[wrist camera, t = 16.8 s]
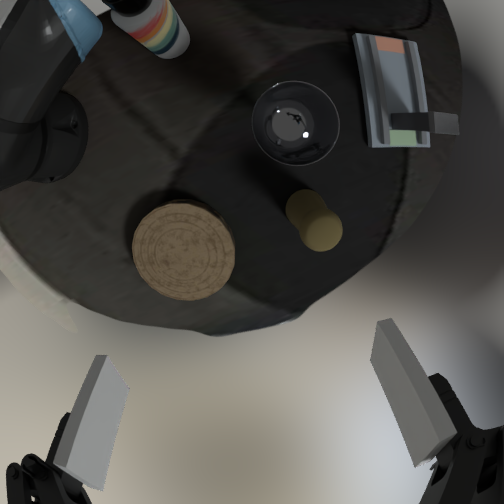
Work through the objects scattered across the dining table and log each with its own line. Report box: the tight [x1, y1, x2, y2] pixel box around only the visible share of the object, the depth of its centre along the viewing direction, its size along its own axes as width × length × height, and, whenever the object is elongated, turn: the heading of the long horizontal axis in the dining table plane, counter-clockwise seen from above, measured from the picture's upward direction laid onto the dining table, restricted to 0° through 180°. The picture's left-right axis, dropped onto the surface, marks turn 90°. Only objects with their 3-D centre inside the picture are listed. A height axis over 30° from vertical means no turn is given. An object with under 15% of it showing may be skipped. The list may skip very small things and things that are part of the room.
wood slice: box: [132, 199, 235, 300], centre depth 42 cm, size 16×16×3 cm
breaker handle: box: [391, 112, 459, 135], centre depth 29 cm, size 2×4×11 cm, turn 98°
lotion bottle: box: [102, 0, 190, 59], centre depth 21 cm, size 6×6×20 cm
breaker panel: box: [352, 33, 430, 147], centre depth 32 cm, size 18×11×3 cm, turn 8°
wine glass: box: [251, 81, 340, 166], centre depth 29 cm, size 8×8×15 cm
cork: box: [286, 189, 342, 251], centre depth 36 cm, size 6×6×11 cm
